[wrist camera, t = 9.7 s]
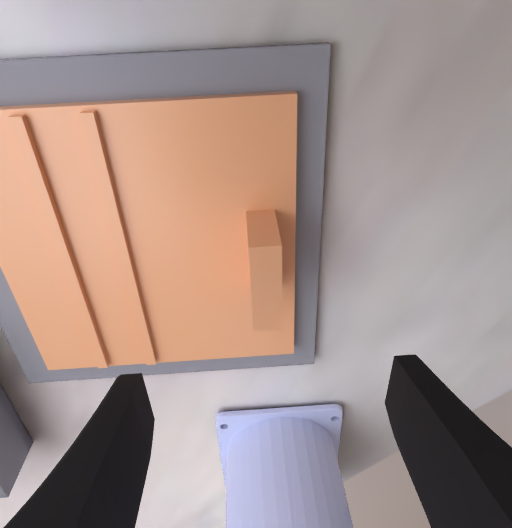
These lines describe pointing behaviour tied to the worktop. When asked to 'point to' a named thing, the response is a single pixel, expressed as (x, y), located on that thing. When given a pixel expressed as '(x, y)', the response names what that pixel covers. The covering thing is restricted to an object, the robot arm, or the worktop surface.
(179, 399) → the worktop surface
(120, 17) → the worktop surface
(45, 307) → the lid
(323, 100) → the mat
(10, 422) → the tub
